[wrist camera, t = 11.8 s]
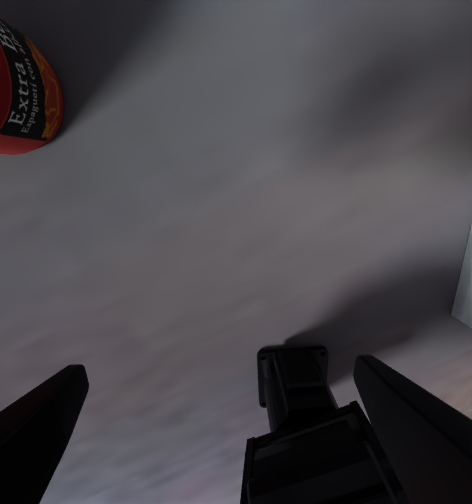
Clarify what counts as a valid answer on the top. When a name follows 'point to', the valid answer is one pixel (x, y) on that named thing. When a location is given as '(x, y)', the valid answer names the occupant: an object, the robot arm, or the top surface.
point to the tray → (464, 288)
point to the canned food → (26, 94)
